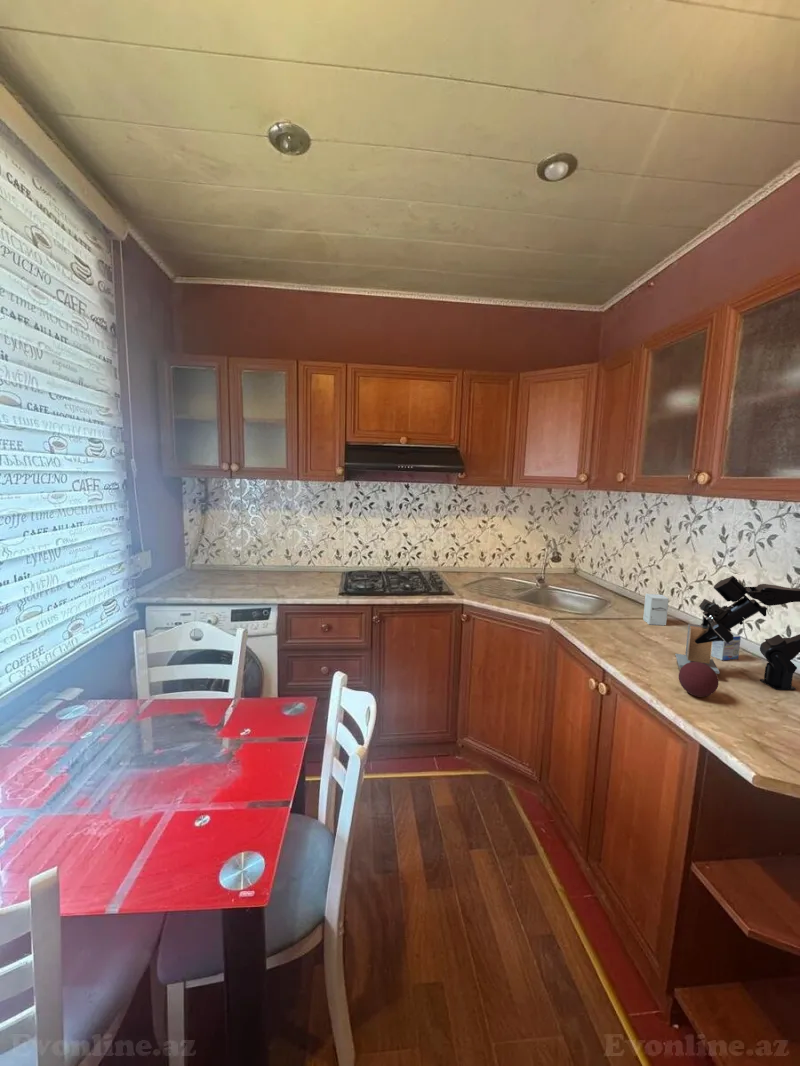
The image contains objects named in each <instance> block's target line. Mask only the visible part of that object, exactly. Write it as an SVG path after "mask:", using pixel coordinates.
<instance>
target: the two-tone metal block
mask: <svg viewBox="0 0 800 1066" xmlns="http://www.w3.org/2000/svg"><path fill="white" fill-rule="evenodd" d="M687 624H688V626H687V636H686V645H685V646H686V647H685V655H686V657H687V659H688V660H689V661H695V662H702V663H708V664H709V663H710V659H711V652H712V642H706V643H699V644H697V643H696V642H695V640H696V639H697V638H698V637H699V636H701V635H702V634H703V633H704V632H705V631H707V627H708V626H704V625H701V624H695V623H687Z"/></svg>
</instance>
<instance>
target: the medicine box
mask: <svg viewBox="0 0 800 1066" xmlns="http://www.w3.org/2000/svg"><path fill="white" fill-rule="evenodd" d="M732 634H733V640H732V641H730V642H728V643H727V642H726V641H725V640H724V639H723V640H724V641H715V642H712V645H711V654H710V657H712V658H714V657H715V658H714V659H716V660H717V659H718V660H719V659H720V661H722V660H724V661H729V660H730V659H732V660H738V659H739V655H740V654H739V653H740V645H741V636H740V635H738V634H735V633H732Z"/></svg>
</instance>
